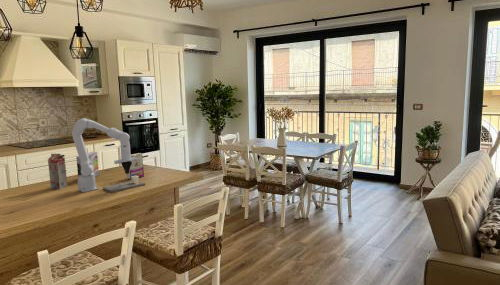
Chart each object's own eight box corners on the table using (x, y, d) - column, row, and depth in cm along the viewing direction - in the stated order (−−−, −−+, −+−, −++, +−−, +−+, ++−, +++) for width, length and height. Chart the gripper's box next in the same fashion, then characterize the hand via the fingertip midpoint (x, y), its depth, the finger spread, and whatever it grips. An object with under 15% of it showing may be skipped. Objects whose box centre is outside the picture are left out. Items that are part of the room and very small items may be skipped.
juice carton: (60, 189, 224) (56, 154, 221) (50, 188, 225) (47, 154, 222) (67, 186, 231) (64, 152, 227) (58, 186, 232) (55, 152, 229)
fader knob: (134, 183, 228) (134, 177, 227) (131, 182, 231) (131, 176, 230) (139, 182, 230) (138, 176, 230) (136, 181, 233) (135, 175, 233)
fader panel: (111, 192, 214) (111, 190, 213) (103, 189, 222) (103, 187, 222) (145, 185, 229) (144, 183, 229) (135, 182, 237) (135, 180, 237)
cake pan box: (83, 182, 240) (81, 156, 237) (76, 182, 241) (74, 156, 238) (99, 175, 259) (97, 151, 256) (93, 175, 260) (91, 151, 257)
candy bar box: (139, 175, 256) (138, 152, 253) (144, 176, 253) (142, 153, 250) (126, 178, 247) (124, 155, 245) (130, 179, 244) (128, 156, 242)
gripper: (117, 154, 216) (119, 176, 218) (139, 151, 226) (140, 172, 228) (112, 153, 221) (113, 174, 223) (133, 150, 231) (135, 170, 233)
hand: (127, 173), depth 226 cm, fingers closed
